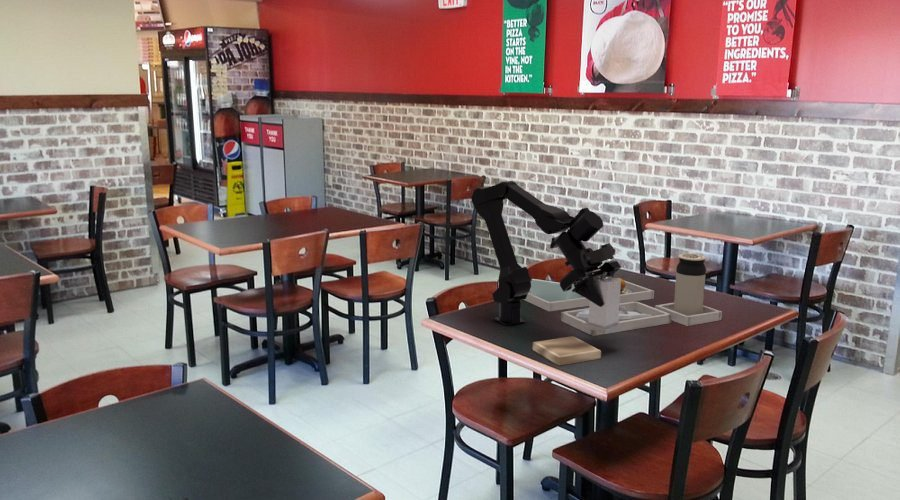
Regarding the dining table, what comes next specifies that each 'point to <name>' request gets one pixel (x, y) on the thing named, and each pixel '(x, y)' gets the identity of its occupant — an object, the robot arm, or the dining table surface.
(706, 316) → the mug tray rim
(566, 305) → the coaster tray rim
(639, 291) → the tray
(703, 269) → the travel mug
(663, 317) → the casing tray rim
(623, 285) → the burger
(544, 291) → the right angle wall
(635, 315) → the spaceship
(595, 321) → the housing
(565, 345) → the stand
